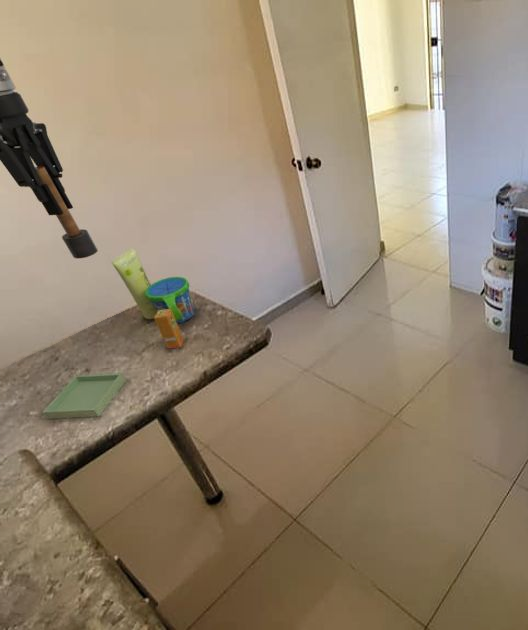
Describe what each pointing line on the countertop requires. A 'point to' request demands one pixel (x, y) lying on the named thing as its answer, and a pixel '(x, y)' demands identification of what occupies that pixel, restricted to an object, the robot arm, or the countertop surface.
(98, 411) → the tray
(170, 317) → the supplement box
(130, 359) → the countertop surface
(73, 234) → the brush
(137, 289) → the tube
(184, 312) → the snack cup
